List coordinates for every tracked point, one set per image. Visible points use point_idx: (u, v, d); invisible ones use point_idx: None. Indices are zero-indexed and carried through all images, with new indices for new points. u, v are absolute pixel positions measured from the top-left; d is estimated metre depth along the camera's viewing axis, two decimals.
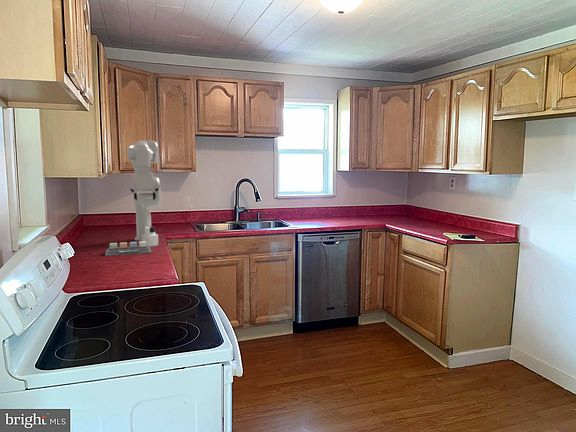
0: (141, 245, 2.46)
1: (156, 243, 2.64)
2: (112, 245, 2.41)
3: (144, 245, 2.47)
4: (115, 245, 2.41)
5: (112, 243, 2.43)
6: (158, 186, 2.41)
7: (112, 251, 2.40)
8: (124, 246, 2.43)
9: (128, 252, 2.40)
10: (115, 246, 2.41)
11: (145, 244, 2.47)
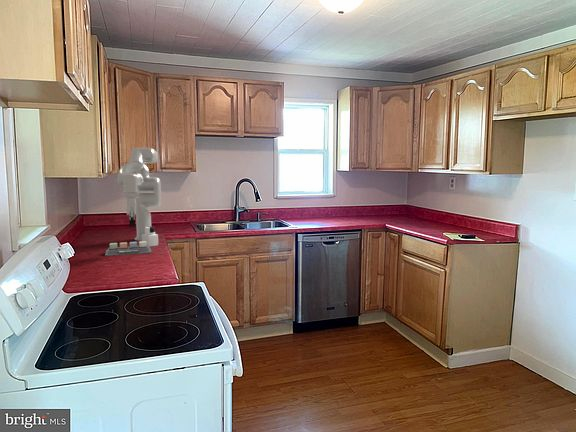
0: (141, 245, 2.46)
1: (156, 243, 2.64)
2: (112, 245, 2.41)
3: (144, 245, 2.47)
4: (115, 245, 2.41)
5: (112, 243, 2.43)
6: None
7: (112, 251, 2.40)
8: (124, 246, 2.43)
9: (128, 252, 2.40)
10: (115, 246, 2.41)
11: (145, 244, 2.47)
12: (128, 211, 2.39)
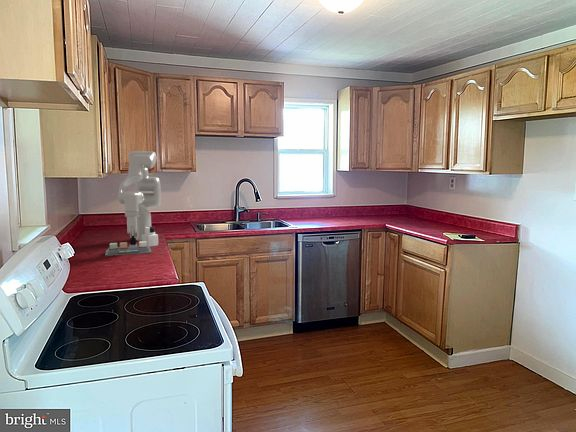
0: (141, 245, 2.46)
1: (156, 243, 2.64)
2: (112, 245, 2.41)
3: (144, 245, 2.47)
4: (115, 245, 2.41)
5: (112, 243, 2.43)
6: None
7: (112, 251, 2.40)
8: (124, 246, 2.43)
9: (128, 252, 2.40)
10: (115, 246, 2.41)
11: (145, 244, 2.47)
12: (129, 230, 2.40)
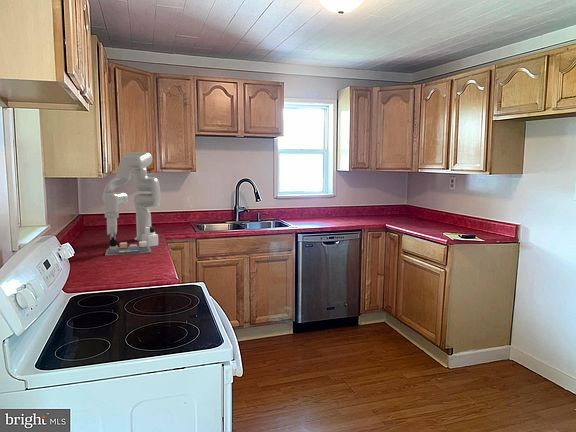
0: (141, 245, 2.46)
1: (156, 243, 2.64)
2: (112, 247, 2.41)
3: (144, 245, 2.47)
4: (115, 247, 2.42)
5: None
6: None
7: (112, 251, 2.40)
8: (124, 246, 2.43)
9: (128, 252, 2.40)
10: (115, 248, 2.42)
11: (145, 244, 2.47)
12: (108, 231, 2.36)
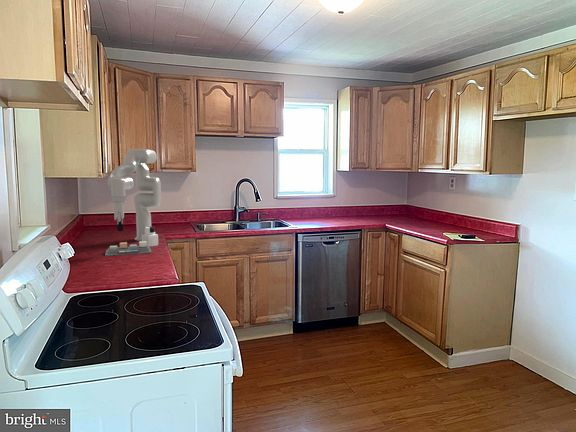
0: (141, 245, 2.46)
1: (156, 243, 2.64)
2: (112, 248, 2.41)
3: (144, 245, 2.47)
4: (115, 248, 2.42)
5: (112, 246, 2.44)
6: None
7: (112, 251, 2.40)
8: (124, 246, 2.43)
9: (128, 252, 2.40)
10: (115, 249, 2.42)
11: (145, 244, 2.47)
12: (115, 215, 2.37)
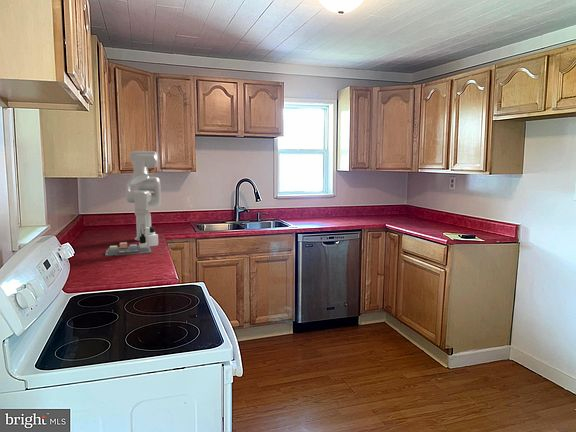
0: (141, 246, 2.47)
1: (156, 243, 2.64)
2: (112, 248, 2.41)
3: (144, 246, 2.47)
4: (115, 248, 2.42)
5: (112, 246, 2.44)
6: None
7: (112, 251, 2.40)
8: (124, 246, 2.43)
9: (128, 252, 2.40)
10: (115, 249, 2.42)
11: (145, 245, 2.47)
12: (139, 228, 2.42)
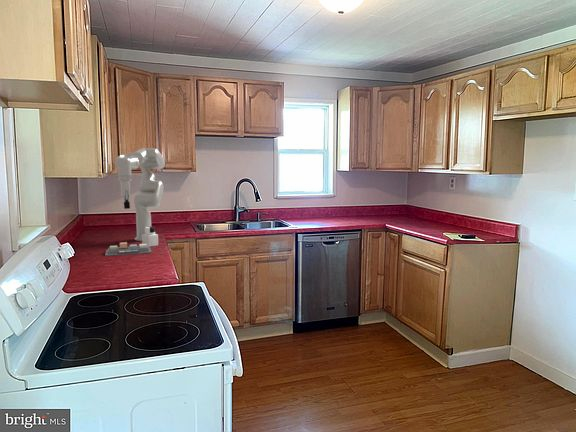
0: None
1: (156, 243, 2.64)
2: (112, 248, 2.41)
3: None
4: (115, 248, 2.42)
5: (112, 246, 2.44)
6: None
7: (112, 251, 2.40)
8: (124, 246, 2.43)
9: (128, 252, 2.40)
10: (115, 249, 2.42)
11: (145, 247, 2.47)
12: (123, 194, 2.49)
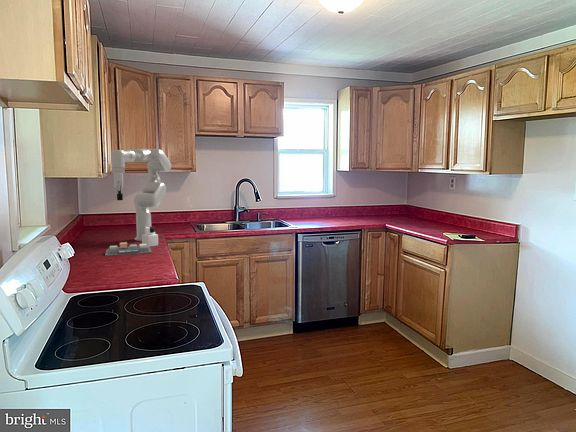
0: None
1: (156, 243, 2.64)
2: (112, 248, 2.41)
3: None
4: (115, 248, 2.42)
5: (112, 246, 2.44)
6: None
7: (112, 251, 2.40)
8: (124, 246, 2.43)
9: (128, 252, 2.40)
10: (115, 249, 2.42)
11: (145, 247, 2.47)
12: (115, 185, 2.52)
